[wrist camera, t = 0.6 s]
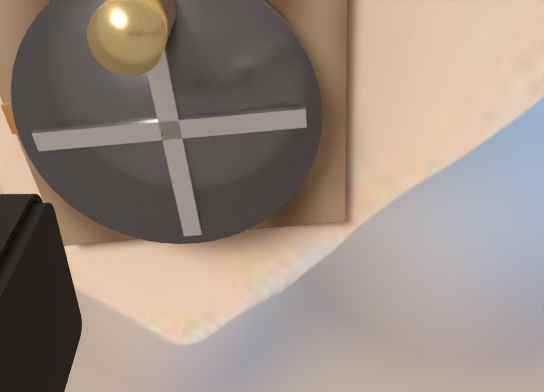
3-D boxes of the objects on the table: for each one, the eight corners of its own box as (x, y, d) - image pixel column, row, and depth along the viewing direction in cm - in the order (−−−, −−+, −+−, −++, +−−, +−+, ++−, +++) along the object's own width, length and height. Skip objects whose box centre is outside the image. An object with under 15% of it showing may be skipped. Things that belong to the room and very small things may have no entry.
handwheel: (319, 204, 38) (336, 288, 31) (78, 225, 38) (41, 314, 31) (311, -63, 28) (335, -29, 21) (-18, -33, 28) (-107, 12, 21)
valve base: (343, -112, 28) (349, -109, 27) (342, 209, 41) (346, 224, 39) (-55, -75, 28) (-72, -70, 27) (67, 233, 41) (60, 249, 39)
